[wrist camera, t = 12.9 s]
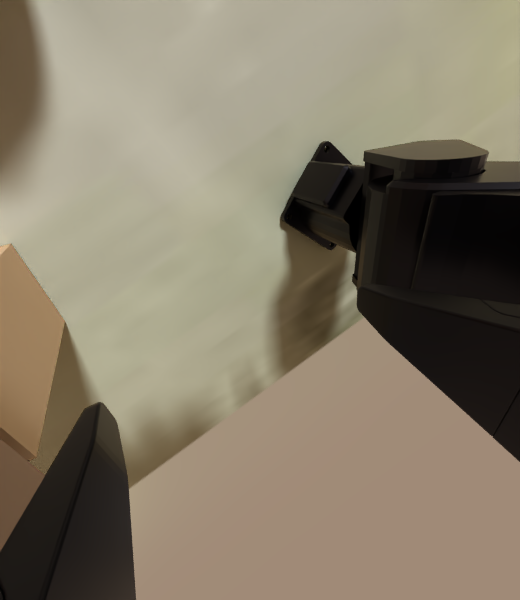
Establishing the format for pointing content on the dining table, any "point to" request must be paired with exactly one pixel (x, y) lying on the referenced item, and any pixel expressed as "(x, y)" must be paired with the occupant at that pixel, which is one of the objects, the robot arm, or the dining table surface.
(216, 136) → the dining table surface
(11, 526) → the lid
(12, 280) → the mailer box
